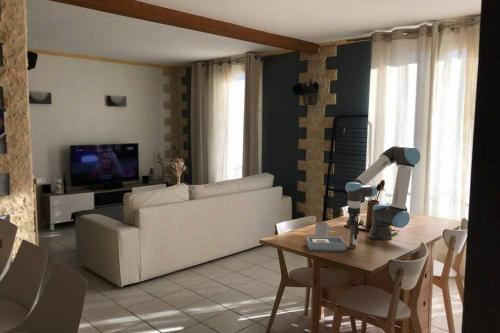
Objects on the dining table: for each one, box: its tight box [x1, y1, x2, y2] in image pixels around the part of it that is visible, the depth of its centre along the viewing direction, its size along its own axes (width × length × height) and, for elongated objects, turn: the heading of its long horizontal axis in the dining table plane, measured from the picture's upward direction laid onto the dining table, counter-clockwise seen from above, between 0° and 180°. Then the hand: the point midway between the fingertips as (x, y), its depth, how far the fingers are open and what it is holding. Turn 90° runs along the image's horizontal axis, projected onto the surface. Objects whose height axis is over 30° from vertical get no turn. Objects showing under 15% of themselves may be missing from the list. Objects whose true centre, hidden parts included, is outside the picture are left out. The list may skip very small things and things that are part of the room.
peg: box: [348, 225, 357, 250], centre depth 251 cm, size 4×4×14 cm
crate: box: [306, 236, 347, 252], centre depth 252 cm, size 22×14×5 cm, turn 89°
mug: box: [314, 221, 332, 237], centre depth 272 cm, size 12×8×11 cm
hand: (352, 241), depth 252 cm, fingers open, 11 cm apart
